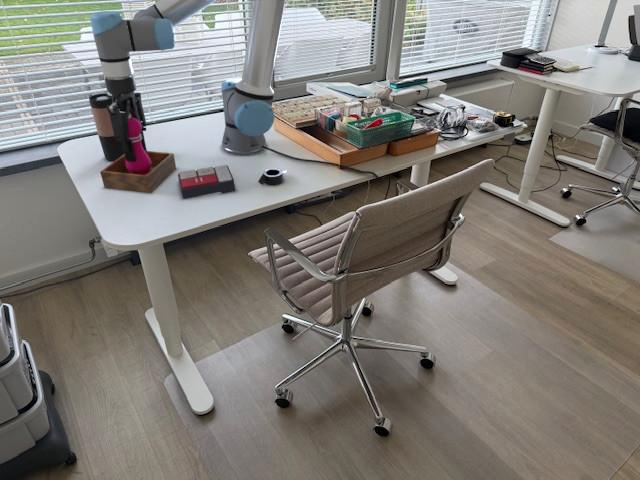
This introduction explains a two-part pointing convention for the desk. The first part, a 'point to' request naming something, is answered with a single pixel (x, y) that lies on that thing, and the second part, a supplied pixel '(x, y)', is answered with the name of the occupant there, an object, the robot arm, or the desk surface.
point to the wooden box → (123, 180)
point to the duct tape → (272, 177)
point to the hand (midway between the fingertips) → (137, 156)
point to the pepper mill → (137, 149)
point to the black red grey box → (206, 181)
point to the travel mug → (105, 126)
